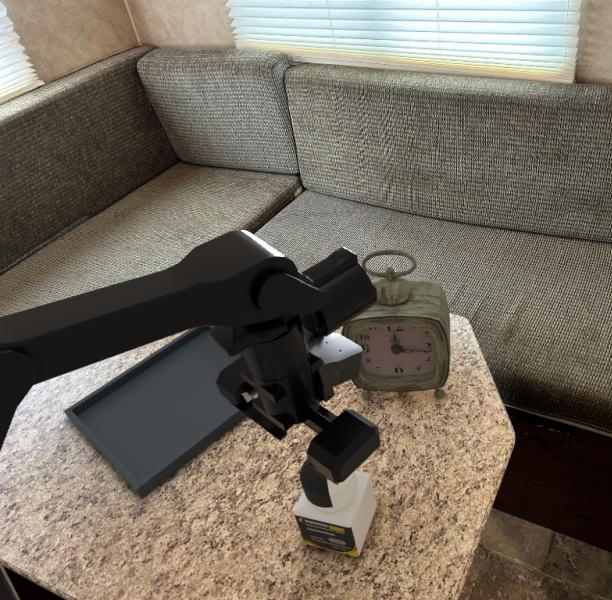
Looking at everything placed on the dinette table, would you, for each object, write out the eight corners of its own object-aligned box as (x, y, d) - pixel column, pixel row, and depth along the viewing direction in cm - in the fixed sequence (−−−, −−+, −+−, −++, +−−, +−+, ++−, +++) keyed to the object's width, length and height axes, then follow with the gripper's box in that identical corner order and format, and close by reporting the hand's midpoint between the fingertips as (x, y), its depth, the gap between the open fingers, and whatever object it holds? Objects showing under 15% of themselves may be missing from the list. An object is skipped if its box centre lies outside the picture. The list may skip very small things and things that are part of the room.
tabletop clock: (353, 408, 89) (325, 272, 73) (360, 363, 96) (335, 230, 80) (453, 407, 87) (445, 268, 71) (452, 362, 94) (445, 226, 78)
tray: (141, 499, 80) (136, 490, 79) (69, 419, 92) (63, 410, 91) (289, 383, 94) (286, 373, 92) (209, 327, 106) (206, 318, 104)
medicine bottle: (303, 544, 73) (282, 488, 65) (325, 493, 78) (308, 435, 70) (359, 558, 71) (344, 502, 63) (378, 505, 76) (366, 447, 69)
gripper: (411, 349, 55) (423, 453, 65) (280, 277, 65) (307, 376, 75) (322, 428, 49) (350, 529, 59) (193, 335, 59) (235, 434, 69)
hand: (310, 458), depth 66 cm, fingers open, 9 cm apart
